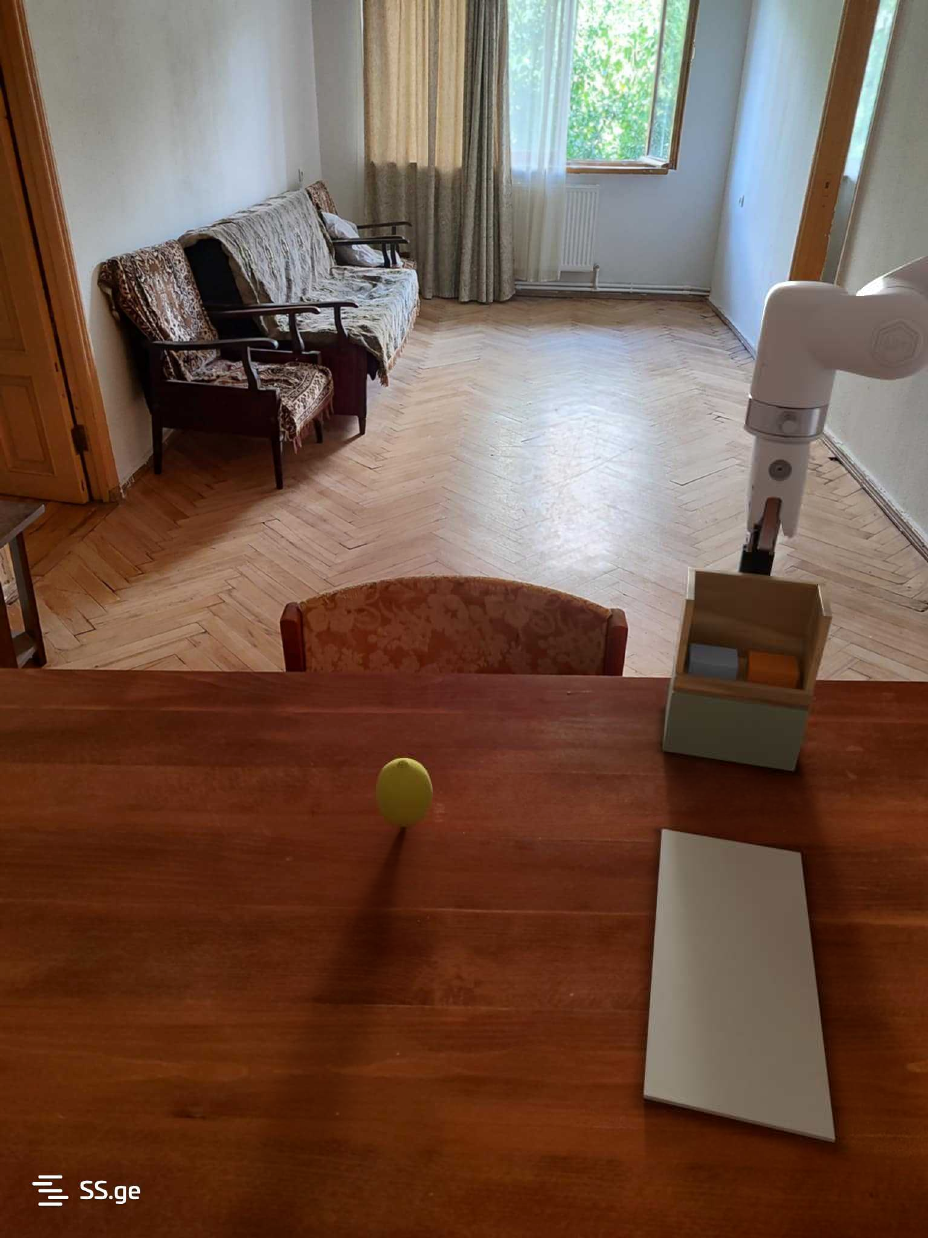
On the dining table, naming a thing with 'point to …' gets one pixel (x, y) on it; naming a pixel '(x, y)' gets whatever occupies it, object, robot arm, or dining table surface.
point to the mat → (736, 988)
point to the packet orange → (772, 669)
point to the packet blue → (712, 662)
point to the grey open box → (733, 730)
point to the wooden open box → (752, 631)
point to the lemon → (403, 792)
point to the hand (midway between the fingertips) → (752, 581)
